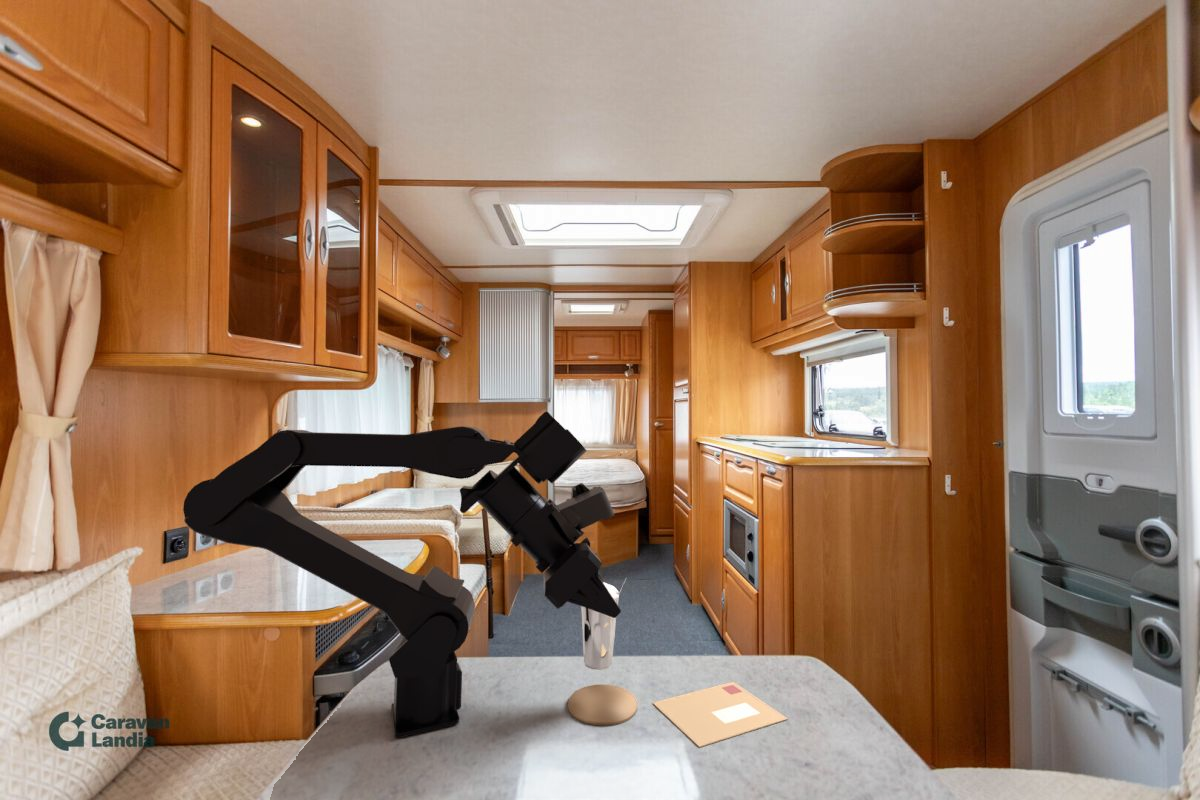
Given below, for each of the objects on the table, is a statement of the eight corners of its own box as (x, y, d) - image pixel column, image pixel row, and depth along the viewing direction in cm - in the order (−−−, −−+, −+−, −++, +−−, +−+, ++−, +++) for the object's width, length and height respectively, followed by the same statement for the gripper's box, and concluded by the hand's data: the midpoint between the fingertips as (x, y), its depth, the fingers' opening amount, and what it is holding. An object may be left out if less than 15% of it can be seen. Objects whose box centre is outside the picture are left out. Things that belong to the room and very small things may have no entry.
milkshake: (622, 675, 56) (624, 584, 57) (575, 671, 57) (577, 581, 57) (625, 657, 60) (627, 572, 61) (581, 653, 61) (584, 569, 62)
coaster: (585, 732, 53) (585, 728, 53) (558, 696, 60) (558, 692, 60) (650, 715, 56) (650, 711, 56) (617, 682, 64) (617, 679, 64)
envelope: (699, 747, 51) (699, 746, 51) (652, 703, 59) (652, 702, 59) (787, 719, 56) (787, 718, 56) (733, 682, 64) (733, 681, 64)
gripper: (582, 469, 50) (687, 580, 51) (567, 458, 69) (644, 540, 70) (499, 550, 49) (608, 663, 50) (506, 517, 67) (585, 600, 68)
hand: (614, 607), depth 59 cm, fingers closed on milkshake, 4 cm apart
